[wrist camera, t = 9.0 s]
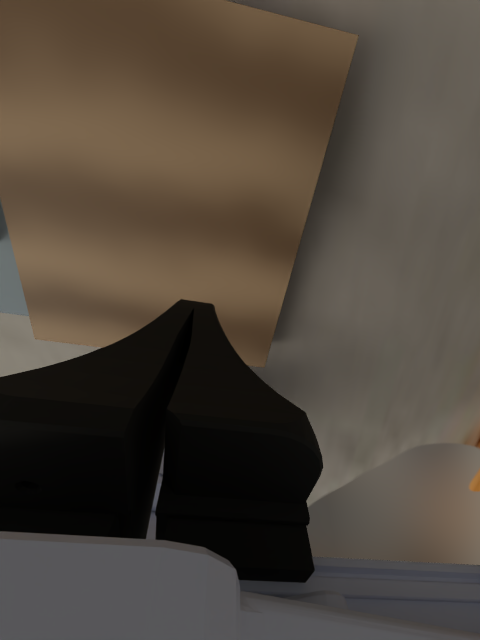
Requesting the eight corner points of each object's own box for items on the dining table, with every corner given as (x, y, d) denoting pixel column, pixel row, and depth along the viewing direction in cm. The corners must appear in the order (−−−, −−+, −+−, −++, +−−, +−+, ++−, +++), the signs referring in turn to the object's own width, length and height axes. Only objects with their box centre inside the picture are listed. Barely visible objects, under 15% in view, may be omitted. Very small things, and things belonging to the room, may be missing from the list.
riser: (260, 343, 23) (264, 367, 20) (59, 317, 21) (35, 339, 19) (335, 58, 14) (358, 35, 11) (-5, -28, 12) (-68, -77, 10)
